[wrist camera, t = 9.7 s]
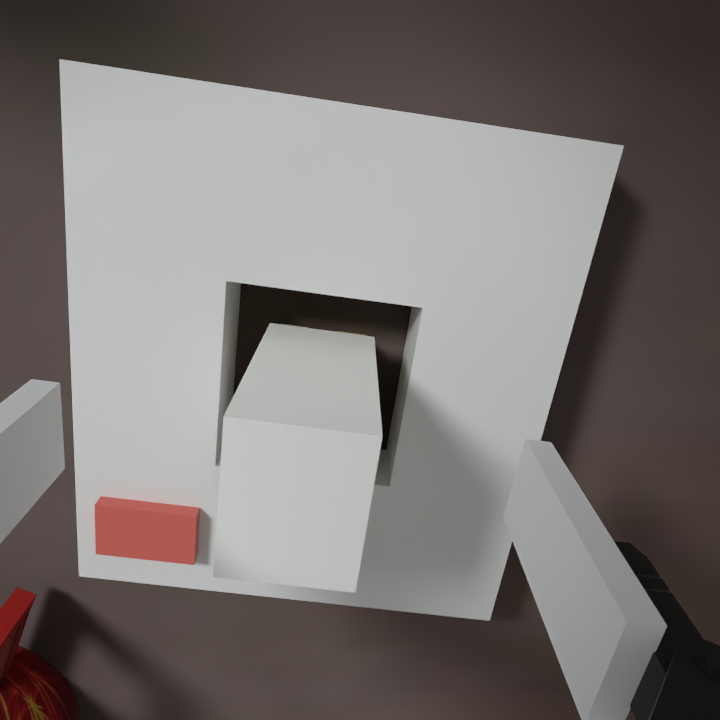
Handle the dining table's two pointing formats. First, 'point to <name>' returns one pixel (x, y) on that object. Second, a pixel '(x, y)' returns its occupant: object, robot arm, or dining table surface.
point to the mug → (29, 671)
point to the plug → (299, 461)
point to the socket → (322, 276)
